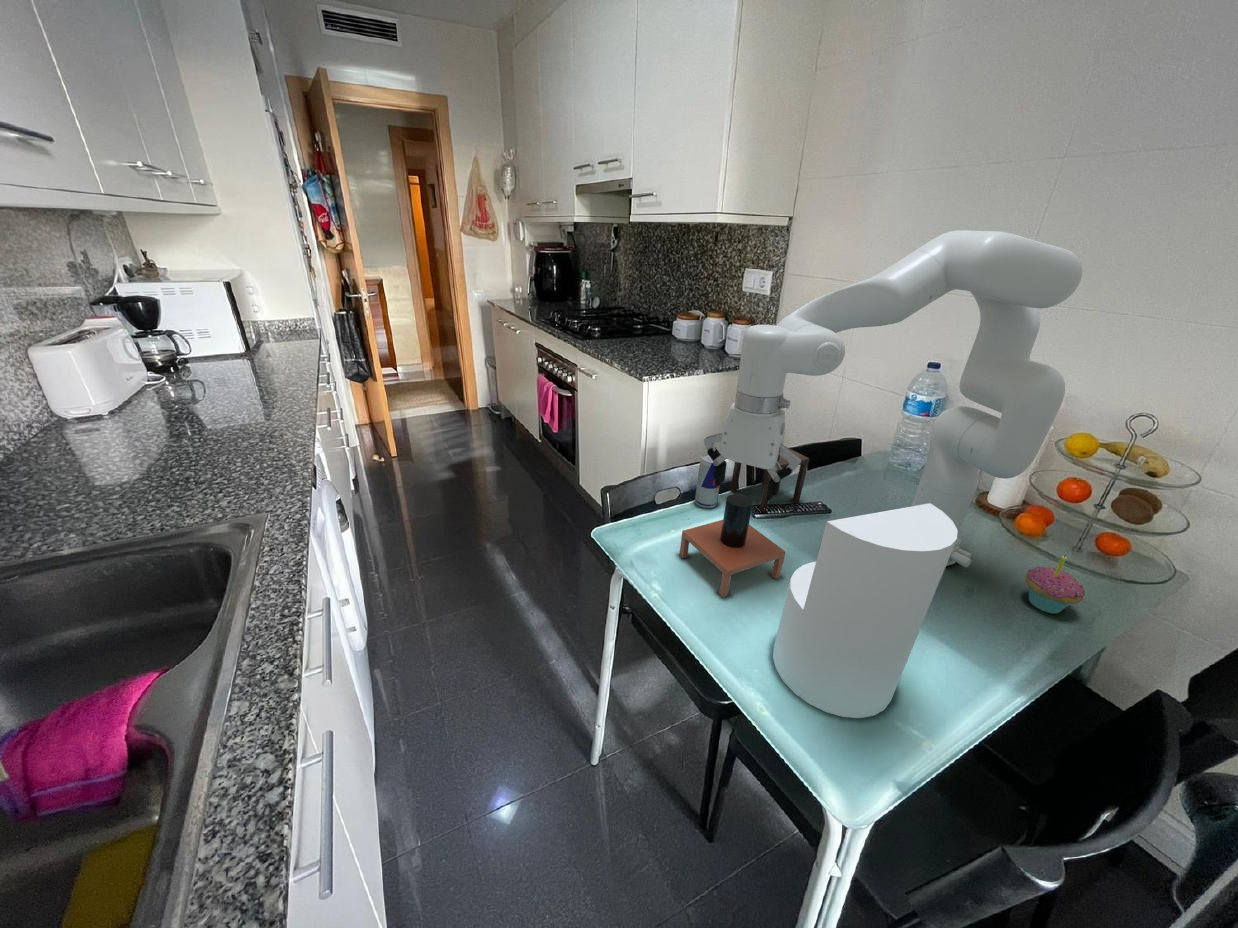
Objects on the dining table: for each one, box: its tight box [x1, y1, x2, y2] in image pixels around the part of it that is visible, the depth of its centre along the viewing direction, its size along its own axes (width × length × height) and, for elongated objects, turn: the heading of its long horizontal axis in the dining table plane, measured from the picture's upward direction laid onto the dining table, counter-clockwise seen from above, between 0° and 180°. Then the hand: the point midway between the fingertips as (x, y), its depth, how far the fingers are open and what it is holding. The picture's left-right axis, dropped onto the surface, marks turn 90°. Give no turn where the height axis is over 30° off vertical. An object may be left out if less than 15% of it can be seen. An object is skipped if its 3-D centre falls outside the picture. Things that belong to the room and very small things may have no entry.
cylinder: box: [772, 503, 958, 719], centre depth 71 cm, size 17×17×28 cm
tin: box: [720, 493, 754, 548], centre depth 94 cm, size 5×5×9 cm
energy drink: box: [694, 453, 721, 509], centre depth 118 cm, size 5×5×12 cm
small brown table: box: [729, 444, 810, 513], centre depth 123 cm, size 12×12×12 cm
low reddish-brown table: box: [679, 519, 787, 598], centre depth 98 cm, size 14×14×6 cm
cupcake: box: [1024, 553, 1086, 614], centre depth 90 cm, size 9×8×12 cm
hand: (744, 490), depth 92 cm, fingers open, 9 cm apart
